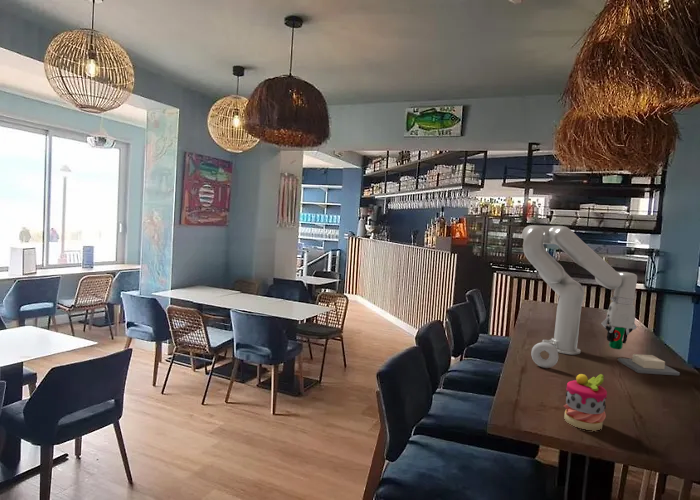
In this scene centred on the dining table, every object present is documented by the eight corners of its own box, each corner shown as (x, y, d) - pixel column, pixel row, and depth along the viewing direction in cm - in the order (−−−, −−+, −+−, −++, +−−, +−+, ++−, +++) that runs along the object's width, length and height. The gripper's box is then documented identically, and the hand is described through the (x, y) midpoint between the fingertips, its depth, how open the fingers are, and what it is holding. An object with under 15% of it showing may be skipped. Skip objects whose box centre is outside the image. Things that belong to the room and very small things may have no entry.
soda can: (623, 350, 194) (628, 323, 193) (610, 348, 195) (615, 321, 194) (619, 347, 199) (623, 320, 198) (606, 345, 200) (611, 318, 199)
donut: (558, 369, 176) (560, 344, 175) (556, 371, 173) (558, 346, 172) (531, 363, 182) (533, 338, 181) (529, 365, 179) (531, 340, 178)
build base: (637, 372, 177) (639, 362, 177) (617, 360, 191) (619, 351, 191) (679, 375, 177) (680, 365, 177) (656, 363, 191) (657, 353, 191)
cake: (569, 429, 126) (574, 377, 125) (558, 412, 137) (563, 364, 135) (609, 434, 125) (615, 381, 123) (595, 417, 135) (600, 368, 134)
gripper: (607, 300, 191) (600, 342, 193) (648, 305, 191) (641, 346, 193) (598, 297, 199) (592, 337, 201) (637, 301, 198) (630, 341, 200)
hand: (616, 341), depth 197 cm, fingers closed on soda can, 5 cm apart
